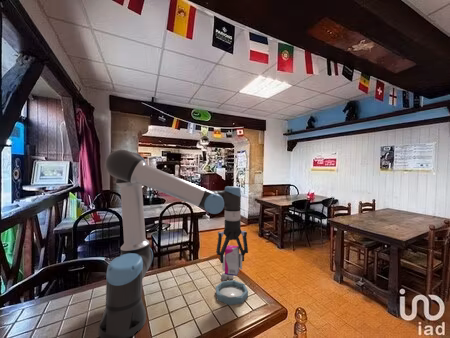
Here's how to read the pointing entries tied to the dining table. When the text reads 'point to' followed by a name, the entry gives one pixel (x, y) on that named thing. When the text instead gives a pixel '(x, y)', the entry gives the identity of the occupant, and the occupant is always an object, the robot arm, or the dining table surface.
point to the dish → (231, 292)
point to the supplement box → (232, 260)
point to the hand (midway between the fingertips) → (232, 268)
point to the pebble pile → (226, 277)
